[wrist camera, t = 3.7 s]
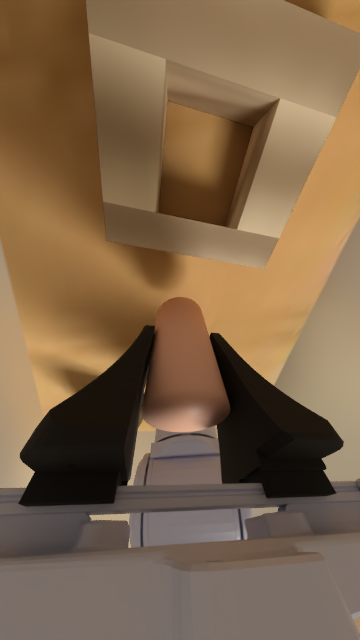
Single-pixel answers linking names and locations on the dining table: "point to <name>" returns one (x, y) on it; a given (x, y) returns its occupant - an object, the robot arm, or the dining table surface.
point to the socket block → (214, 111)
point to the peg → (183, 372)
